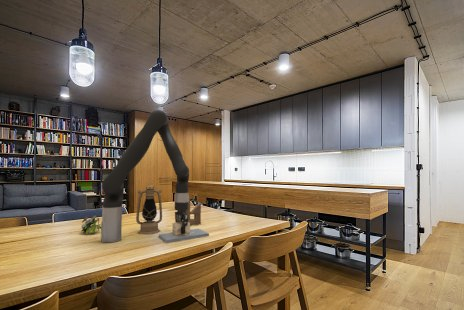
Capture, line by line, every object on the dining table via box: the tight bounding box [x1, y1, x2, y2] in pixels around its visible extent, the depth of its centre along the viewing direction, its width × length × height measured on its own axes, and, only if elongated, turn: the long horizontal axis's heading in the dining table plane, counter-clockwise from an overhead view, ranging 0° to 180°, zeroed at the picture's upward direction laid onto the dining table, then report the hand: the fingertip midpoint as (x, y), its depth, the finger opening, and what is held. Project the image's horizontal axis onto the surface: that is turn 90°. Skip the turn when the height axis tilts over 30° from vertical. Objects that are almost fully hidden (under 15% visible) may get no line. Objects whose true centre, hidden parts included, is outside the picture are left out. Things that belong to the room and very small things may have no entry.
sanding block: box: [171, 222, 191, 236], centre depth 133 cm, size 8×5×6 cm, turn 124°
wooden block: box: [186, 197, 202, 226], centre depth 163 cm, size 4×11×18 cm, turn 119°
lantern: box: [135, 184, 163, 235], centre depth 144 cm, size 14×12×30 cm
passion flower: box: [80, 215, 101, 236], centre depth 141 cm, size 11×11×12 cm
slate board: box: [157, 228, 210, 244], centre depth 133 cm, size 24×13×2 cm, turn 124°
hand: (181, 232), depth 133 cm, fingers closed on sanding block, 5 cm apart
